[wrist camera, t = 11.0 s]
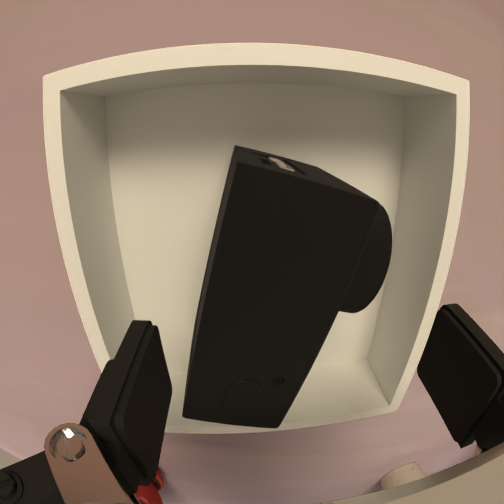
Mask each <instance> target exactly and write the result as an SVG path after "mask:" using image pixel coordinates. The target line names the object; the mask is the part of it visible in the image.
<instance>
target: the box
mask: <svg viewBox="0 0 504 504" xmlns="http://www.w3.org/2000/svg"><path fill="white" fill-rule="evenodd" d="M43 118H44V136H45V149H46V160H47V169H48V177H49V184H50V191H51V198H52V204H53V210H54V215H55V221H56V226H57V231H58V236H59V240H60V245H61V249H62V253H63V258H64V262H65V266H66V269H67V273H68V277H69V281H70V284H71V288H72V291H73V294H74V298H75V301H76V304H77V307H78V311H79V314H80V317H81V320H82V323H83V325H84V328H85V331H86V334H87V337H88V339H89V342H90V345H91V347H92V350H93V353H94V355H95V358H96V360H97V363H98V365H99V368H100V370H101V372H103V369H104V367H105V365H106V363H107V362H108V361H109V360H110V359H114V358H115V356H116V353H117V351H118V349H119V347H120V345H121V343H122V341H123V338H124V336H125V334H126V332H127V330H128V328H129V326H130V324H131V322H132V321H133V320H150V321H151V322H152V324H153V325H157V326H158V329H159V333H160V338H161V342H162V347H163V351H164V355H165V359H166V364H167V368H168V372H169V376H170V379H171V383H172V397H171V402H170V407H169V412H168V417H167V422H166V427H165V433H187V434H233V433H255V432H270V431H282V430H292V429H300V428H308V427H316V426H323V425H329V424H336V423H341V422H347V421H352V420H358V419H363V418H367V417H372V416H377V415H381V414H385V413H389V412H393V411H397V409H398V407H399V405H400V403H401V401H402V399H403V397H404V395H405V392H406V390H407V388H408V386H409V384H410V381H411V379H412V377H413V374H414V372H415V370H416V367H417V365H418V362H419V360H420V357H421V355H422V352H423V349H424V347H425V344H426V341H427V339H428V336H429V333H430V330H431V327H432V324H433V321H434V318H435V315H436V312H437V309H438V306H439V303H440V299H441V296H442V292H443V289H444V285H445V282H446V278H447V274H448V270H449V266H450V262H451V258H452V254H453V249H454V245H455V240H456V235H457V230H458V225H459V219H460V213H461V207H462V201H463V194H464V186H465V178H466V168H467V157H468V143H469V120H470V90H469V81H468V80H466V79H463V78H460V77H457V76H454V75H451V74H448V73H445V72H442V71H438V70H435V69H432V68H428V67H425V66H421V65H417V64H414V63H410V62H406V61H401V60H397V59H393V58H388V57H383V56H379V55H373V54H368V53H362V52H356V51H350V50H343V49H336V48H328V47H319V46H309V45H296V44H279V43H219V44H202V45H189V46H179V47H170V48H162V49H154V50H148V51H141V52H135V53H130V54H124V55H119V56H114V57H110V58H105V59H101V60H96V61H92V62H88V63H84V64H81V65H77V66H73V67H70V68H66V69H63V70H60V71H56V72H53V73H50V74H47V75H44V76H43ZM235 145H237V146H240V147H241V146H242V147H246V148H250V149H254V150H258V151H262V152H266V153H270V154H274V155H277V156H281V157H285V158H288V159H292V160H296V161H299V162H303V163H306V164H309V165H313V166H317V167H319V168H321V169H322V170H324V171H326V172H328V173H330V174H332V175H333V176H335V177H337V178H339V179H341V180H342V181H344V182H346V183H348V184H350V185H351V186H353V187H355V188H357V189H358V190H360V191H362V192H363V193H365V194H367V195H369V196H370V197H372V198H374V199H375V200H377V201H378V202H379V203H380V204H381V205H382V206H383V207H384V208H385V210H386V212H387V214H388V216H389V219H390V223H391V229H392V253H391V259H390V264H389V268H388V271H387V274H386V277H385V280H384V282H383V285H382V287H381V288H380V290H379V292H378V294H377V295H376V297H375V298H374V300H373V301H372V302H371V303H370V304H369V305H368V306H367V307H366V308H365V309H364V310H362V311H360V312H357V313H346V312H341V311H339V312H338V314H337V316H336V318H335V321H334V323H333V325H332V327H331V329H330V331H329V333H328V335H327V338H326V340H325V342H324V344H323V346H322V348H321V350H320V352H319V354H318V356H317V358H316V360H315V362H314V364H313V366H312V368H311V370H310V372H309V374H308V376H307V377H306V379H305V381H304V383H303V385H302V387H301V389H300V391H299V393H298V394H297V396H296V398H295V400H294V402H293V403H292V405H291V407H290V409H289V411H288V412H287V414H286V416H285V418H284V419H283V421H282V423H281V425H280V426H279V427H278V428H274V429H273V428H259V427H247V426H237V425H228V424H220V423H212V422H205V421H199V420H192V419H186V418H184V417H182V412H183V403H184V395H185V387H186V380H187V372H188V365H189V358H190V351H191V344H192V337H193V330H194V324H195V319H196V314H197V308H198V304H199V299H200V294H201V289H202V284H203V279H204V274H205V270H206V265H207V260H208V256H209V251H210V247H211V242H212V238H213V233H214V229H215V225H216V220H217V216H218V212H219V207H220V203H221V199H222V195H223V190H224V186H225V182H226V178H227V174H228V170H229V166H230V162H231V158H232V154H233V150H234V146H235Z"/></svg>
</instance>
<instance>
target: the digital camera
mask: <svg viewBox="0 0 504 504" xmlns="http://www.w3.org/2000/svg"><path fill="white" fill-rule="evenodd" d="M391 253H392V229H391V223H390V219H389V216H388V214H387V212H386V210H385V208H384V207H383V206H382V205H381V204H380V203H379V202H378V201H377V200H375V199H374V198H372V197H370V196H369V195H367V194H365V193H363V192H362V191H360V190H358V189H357V188H355V187H353V186H351V185H350V184H348V183H346V182H344V181H342V180H341V179H339V178H337V177H335V176H333V175H332V174H330V173H328V172H326V171H324V170H322V169H321V168H319V167H317V166H313V165H309V164H306V163H303V162H299V161H296V160H292V159H288V158H285V157H281V156H277V155H274V154H270V153H266V152H262V151H258V150H254V149H250V148H246V147H242V146H241V147H240V146H237V145H235V146H234V150H233V154H232V158H231V162H230V166H229V170H228V174H227V178H226V182H225V186H224V190H223V195H222V199H221V203H220V207H219V212H218V216H217V220H216V225H215V229H214V233H213V238H212V242H211V247H210V251H209V256H208V260H207V265H206V270H205V274H204V279H203V284H202V289H201V294H200V299H199V304H198V308H197V314H196V319H195V324H194V330H193V337H192V344H191V351H190V358H189V365H188V372H187V380H186V387H185V395H184V403H183V412H182V417H184V418H186V419H192V420H199V421H205V422H212V423H220V424H228V425H237V426H247V427H259V428H273V429H274V428H278V427H279V426H280V425H281V423H282V421H283V419H284V418H285V416H286V414H287V412H288V411H289V409H290V407H291V405H292V403H293V402H294V400H295V398H296V396H297V394H298V393H299V391H300V389H301V387H302V385H303V383H304V381H305V379H306V377H307V376H308V374H309V372H310V370H311V368H312V366H313V364H314V362H315V360H316V358H317V356H318V354H319V352H320V350H321V348H322V346H323V344H324V342H325V340H326V338H327V335H328V333H329V331H330V329H331V327H332V325H333V323H334V321H335V318H336V316H337V314H338V312H339V311H341V312H346V313H357V312H360V311H362V310H364V309H365V308H366V307H367V306H368V305H369V304H370V303H371V302H372V301H373V300H374V298H375V297H376V295H377V294H378V292H379V290H380V288H381V287H382V285H383V282H384V280H385V277H386V274H387V271H388V268H389V264H390V259H391Z"/></svg>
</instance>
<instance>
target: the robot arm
mask: <svg viewBox="0 0 504 504" xmlns="http://www.w3.org/2000/svg"><path fill="white" fill-rule="evenodd" d="M417 373H418V376H419V378H420V379H421V381H422V383H423V385H424V386H425V388H426V390H427V392H428V393H429V395H430V397H431V399H432V400H433V402H434V404H435V406H436V408H437V409H438V411H439V413H440V415H441V417H442V419H443V420H444V422H445V424H446V426H447V428H448V430H449V432H450V434H451V436H452V437H453V439H454V441H456V442H458V444H459V446H460V448H463V447H465V446H468V445H470V444H472V443H473V442H474V440H476V442H477V445H476V450H475V454H474V457H473V458H471V459H469V460H467V461H464V462H462V463H460V464H457V465H455V466H453V467H450V468H448V469H445V470H443V471H440V472H438V473H435V474H432V475H430V476H427V477H424V478H421V479H418V480H415V481H412V482H409V483H406V484H403V485H399V486H396V487H393V488H389V489H385V490H382V491H378V492H374V493H370V494H366V495H361V496H357V497H352V498H347V499H342V500H336V501H331V502H325V503H318V504H504V353H503V352H502V351H501V350H500V349H499V348H498V347H497V345H496V344H495V343H494V342H493V341H492V340H491V339H490V338H489V336H488V335H487V334H486V333H485V332H484V331H483V330H482V329H481V328H480V327H479V326H478V324H477V323H476V322H475V321H474V320H473V319H472V318H471V317H470V316H469V315H468V314H467V313H466V312H465V311H464V310H463V309H462V308H461V307H460V306H459V305H458V304H448V305H443V306H442V307H441V308H440V310H438V312H437V314H436V317H435V320H434V323H433V326H432V329H431V332H430V335H429V338H428V341H427V343H426V346H425V349H424V351H423V354H422V357H421V359H420V362H419V364H418V367H417ZM171 397H172V383H171V379H170V376H169V372H168V368H167V364H166V359H165V355H164V351H163V347H162V342H161V338H160V333H159V329H158V326H157V325H153V324H152V322H151V321H150V320H133V321H132V322H131V324H130V326H129V328H128V330H127V332H126V334H125V336H124V338H123V341H122V343H121V345H120V347H119V349H118V351H117V353H116V356H115V358H114V359H110V360H109V361H108V362H107V363H106V365H105V367H104V369H103V372H102V374H101V376H100V378H99V380H98V382H97V385H96V387H95V389H94V391H93V394H92V396H91V398H90V400H89V403H88V405H87V407H86V410H85V412H84V414H83V417H82V419H81V421H80V424H75V423H66V424H62V425H59V426H57V427H55V428H54V429H53V430H52V431H51V432H50V433H49V434H48V435H47V437H46V439H45V443H44V449H45V451H43V452H40V453H38V454H36V455H34V456H31V457H29V458H27V459H24V460H22V461H20V462H17V463H15V464H12V465H10V466H8V467H5V468H3V469H1V470H0V504H141V503H140V501H139V500H138V498H137V497H136V496H135V493H137V490H138V485H140V486H147V487H149V483H150V479H155V478H156V475H157V469H158V464H159V458H160V453H161V448H162V442H163V437H164V432H165V427H166V422H167V417H168V412H169V407H170V402H171Z"/></svg>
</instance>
